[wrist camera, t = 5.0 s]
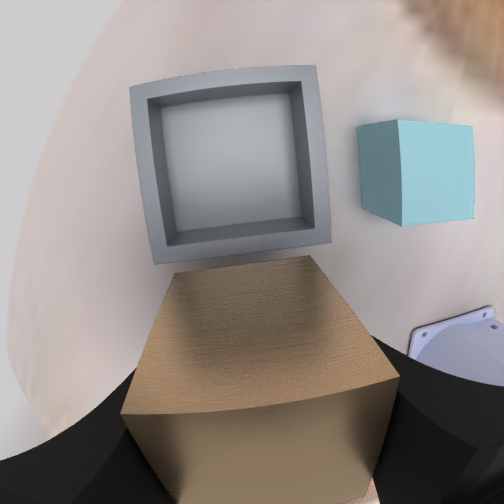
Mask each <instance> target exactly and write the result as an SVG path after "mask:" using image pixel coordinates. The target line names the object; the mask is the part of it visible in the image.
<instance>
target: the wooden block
mask: <svg viewBox="0 0 504 504" xmlns="http://www.w3.org/2000/svg"><path fill="white" fill-rule="evenodd" d="M399 379H400V375H399V374H398V372H397V371H396V370H395V368H394V367H393V365H392V364H391V363H390V361H389V360H388V358H387V357H386V356H385V354H384V353H383V351H382V350H381V349H380V347H379V346H378V345H377V343H376V342H375V340H374V339H373V338H372V336H371V335H370V334H369V332H368V331H367V330H366V328H365V327H364V326H363V324H362V323H361V321H360V320H359V319H358V317H357V316H356V315H355V313H354V312H353V311H352V309H351V308H350V307H349V305H348V304H347V303H346V301H345V300H344V299H343V298H342V296H341V295H340V294H339V292H338V291H337V290H336V288H335V287H334V286H333V284H332V283H331V282H330V281H329V279H328V278H327V277H326V275H325V274H324V273H323V272H322V270H321V269H320V268H319V266H318V265H317V264H316V263H315V261H314V260H313V259H312V257H311V256H310V255H309V256H302V257H295V258H287V259H280V260H273V261H265V262H258V263H250V264H243V265H235V266H228V267H220V268H213V269H205V270H197V271H189V272H182V273H175V274H174V277H173V279H172V281H171V284H170V286H169V288H168V291H167V293H166V295H165V298H164V300H163V303H162V305H161V307H160V310H159V312H158V315H157V317H156V320H155V322H154V325H153V327H152V330H151V332H150V335H149V337H148V340H147V342H146V345H145V347H144V350H143V353H142V355H141V358H140V360H139V363H138V366H137V368H136V371H135V374H134V376H133V379H132V382H131V385H130V387H129V390H128V393H127V396H126V399H125V401H124V404H123V407H122V410H121V413H120V414H121V416H122V418H123V420H124V422H125V424H126V426H127V427H128V429H129V431H130V433H131V434H132V436H133V438H134V440H135V441H136V443H137V445H138V446H139V448H140V450H141V451H142V453H143V455H144V456H145V458H146V459H147V461H148V462H149V464H150V466H151V467H152V469H153V470H154V472H155V473H156V475H157V476H158V478H159V479H160V481H161V482H162V484H163V485H164V486H165V488H166V489H167V491H168V492H169V493H170V495H171V496H172V498H173V499H174V500H175V502H176V503H177V504H338V503H342V502H346V501H350V500H354V499H357V498H360V497H364V496H365V495H366V492H367V489H368V487H369V484H370V481H371V478H372V476H373V473H374V470H375V467H376V464H377V461H378V458H379V455H380V452H381V449H382V445H383V442H384V439H385V435H386V432H387V428H388V425H389V421H390V417H391V413H392V409H393V405H394V401H395V397H396V393H397V388H398V383H399Z"/></svg>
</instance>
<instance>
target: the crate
mask: <svg viewBox="0 0 504 504" xmlns="http://www.w3.org/2000/svg"><path fill="white" fill-rule="evenodd" d="M129 89H130V102H131V114H132V124H133V134H134V143H135V151H136V159H137V167H138V174H139V181H140V188H141V194H142V200H143V207H144V212H145V218H146V224H147V229H148V235H149V240H150V245H151V250H152V255H153V260H154V265H156V264H164V263H173V262H181V261H189V260H197V259H205V258H213V257H221V256H229V255H237V254H246V253H254V252H262V251H270V250H278V249H286V248H294V247H302V246H310V245H318V244H326V243H332V242H331V218H330V199H329V184H328V170H327V158H326V147H325V136H324V127H323V117H322V109H321V100H320V92H319V85H318V78H317V71H316V65H291V66H266V67H251V68H239V69H229V70H220V71H212V72H205V73H198V74H191V75H185V76H179V77H174V78H168V79H163V80H158V81H153V82H148V83H144V84H140V85H135V86H131V87H129Z"/></svg>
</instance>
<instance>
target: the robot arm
mask: <svg viewBox="0 0 504 504" xmlns="http://www.w3.org/2000/svg"><path fill="white" fill-rule="evenodd" d="M494 310H495V309H494V307H492V306H489V307H486V308H483V309H480V310H477V311H474V312H471V313H468V314H465V315H462V316H459V317H456V318H452V319H449V320H446V321H442V322H439V323H436V324H432V325H429V326H425V327H421V328H418V329H416V330H415V331H414V332H413V334H412V338H411V344H410V349H409V355H408V356H406V355H404V354H402V353H401V352H399V351H397V350H395V349H393V348H392V347H390V346H388V345H386V344H385V343H383V342H381V341H380V340H378V339H376V338H375V337H373V336H372V335H371V336H372V338H373V339H374V340H375V342H376V343H377V345H378V346H379V347H380V349H381V350H382V351H383V353H384V354H385V356H386V357H387V358H388V360H389V361H390V363H391V364H392V365H393V367H394V368H395V370H396V371H397V372H398V374H399V375H400V379H399V383H398V388H397V393H396V397H395V401H394V405H393V409H392V413H391V417H390V421H389V425H388V428H387V432H386V435H385V439H384V442H383V445H382V449H381V452H380V455H379V458H378V461H377V464H376V467H375V470H374V473H373V476H372V477H373V480H374V484H375V487H376V491H377V494H378V498H379V501H380V504H504V325H503V324H501V323H500V322H499V321H498V320H496V319H495V318H494V317H493V315H494ZM423 333H424V334H423ZM136 368H137V367H136ZM135 371H136V369H135V370H134V371H133V372H132V373H131V374H130V375H129V376H128V377H127V378H126V379H125V380H124V381H123V382H122V383H121V384H120V385H119V386H118V387H117V388H116V389H115V390H114V391H113V392H112V393H111V394H110V395H109V396H108V397H107V398H106V399H105V400H104V401H103V402H102V403H101V404H99V405H98V406H97V407H96V408H95V409H94V410H92V411H91V412H90V413H89V414H87V415H86V416H85V417H83V418H82V419H81V420H79V421H78V422H77V423H75V424H74V425H72V426H71V427H69V428H68V429H66V430H65V431H63V432H61V433H60V434H58V435H57V436H55V437H53V438H52V439H50V440H48V441H46V442H45V443H43V444H41V445H39V446H37V447H34V448H32V449H30V450H28V451H26V452H23V453H21V454H18V455H16V456H13V457H10V458H7V459H4V460H1V461H0V504H177V503H176V502H175V500H174V499H173V498H172V496H171V495H170V493H169V492H168V491H167V489H166V488H165V486H164V485H163V484H162V482H161V481H160V479H159V478H158V476H157V475H156V473H155V472H154V470H153V469H152V467H151V466H150V464H149V462H148V461H147V459H146V458H145V456H144V455H143V453H142V451H141V450H140V448H139V446H138V445H137V443H136V441H135V440H134V438H133V436H132V434H131V433H130V431H129V429H128V427H127V426H126V424H125V422H124V420H123V418H122V416H121V414H120V413H121V410H122V407H123V404H124V401H125V399H126V396H127V393H128V390H129V387H130V385H131V382H132V379H133V376H134V374H135Z"/></svg>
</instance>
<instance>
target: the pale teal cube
mask: <svg viewBox="0 0 504 504" xmlns="http://www.w3.org/2000/svg"><path fill="white" fill-rule="evenodd" d="M357 135H358V147H359V160H360V175H361V195H362V209H364V210H367V211H369V212H371V213H373V214H376V215H378V216H380V217H382V218H384V219H387V220H389V221H391V222H393V223H395V224H397V225H399V226H401V227H404V226H413V225H422V224H431V223H440V222H449V221H458V220H467V219H474V201H475V163H474V141H473V128H472V126H465V125H457V124H448V123H439V122H428V121H414V120H391V121H385V122H379V123H373V124H368V125H362V126H357Z"/></svg>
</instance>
